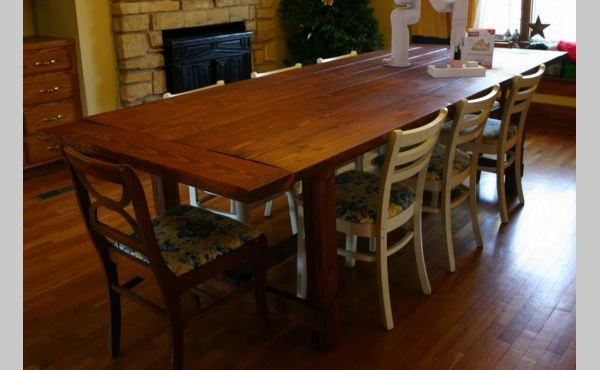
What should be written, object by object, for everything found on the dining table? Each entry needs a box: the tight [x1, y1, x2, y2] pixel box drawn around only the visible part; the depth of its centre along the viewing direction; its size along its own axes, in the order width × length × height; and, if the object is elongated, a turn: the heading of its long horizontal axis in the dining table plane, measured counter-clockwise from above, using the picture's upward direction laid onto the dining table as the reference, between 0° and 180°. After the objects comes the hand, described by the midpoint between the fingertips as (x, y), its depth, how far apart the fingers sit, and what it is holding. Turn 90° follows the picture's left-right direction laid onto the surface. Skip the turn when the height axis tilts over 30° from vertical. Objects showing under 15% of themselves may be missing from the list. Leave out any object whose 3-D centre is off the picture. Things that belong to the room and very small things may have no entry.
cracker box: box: [465, 27, 496, 70], centre depth 335 cm, size 14×6×21 cm, turn 82°
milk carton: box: [449, 31, 468, 64], centre depth 350 cm, size 7×7×19 cm
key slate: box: [434, 61, 448, 68], centre depth 319 cm, size 5×5×5 cm
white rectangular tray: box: [427, 64, 487, 79], centre depth 320 cm, size 26×14×4 cm, turn 94°
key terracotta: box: [449, 59, 463, 68], centre depth 319 cm, size 5×5×5 cm
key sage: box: [466, 61, 478, 67], centre depth 320 cm, size 5×5×5 cm
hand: (457, 59), depth 318 cm, fingers closed
